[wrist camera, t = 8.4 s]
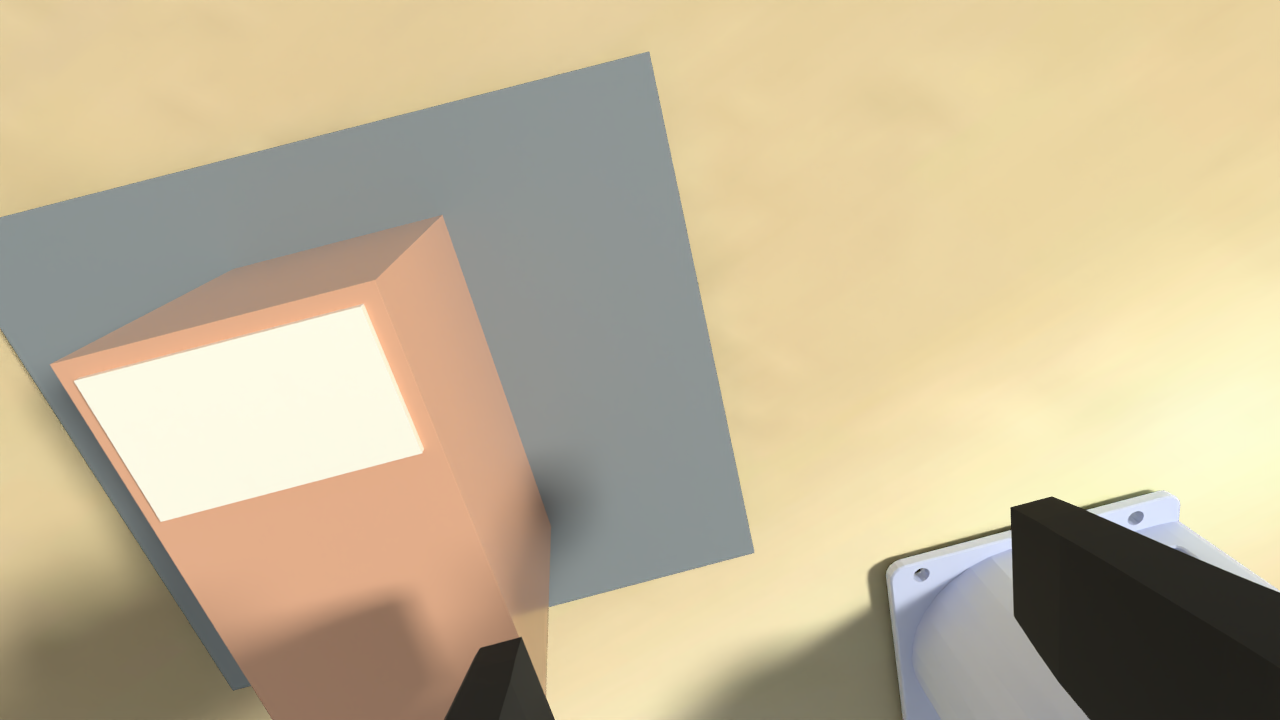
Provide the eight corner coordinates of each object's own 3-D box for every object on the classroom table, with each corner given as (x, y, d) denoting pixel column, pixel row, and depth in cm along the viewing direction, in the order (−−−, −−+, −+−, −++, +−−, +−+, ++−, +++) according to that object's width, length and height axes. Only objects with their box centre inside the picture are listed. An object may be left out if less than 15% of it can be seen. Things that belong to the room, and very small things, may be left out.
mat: (645, 53, 15) (649, 51, 15) (749, 540, 21) (754, 552, 20) (-38, 228, 15) (-62, 233, 15) (242, 674, 21) (232, 690, 20)
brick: (551, 526, 19) (545, 709, 13) (379, 571, 19) (300, 774, 13) (442, 214, 16) (372, 282, 10) (232, 269, 16) (42, 368, 10)
